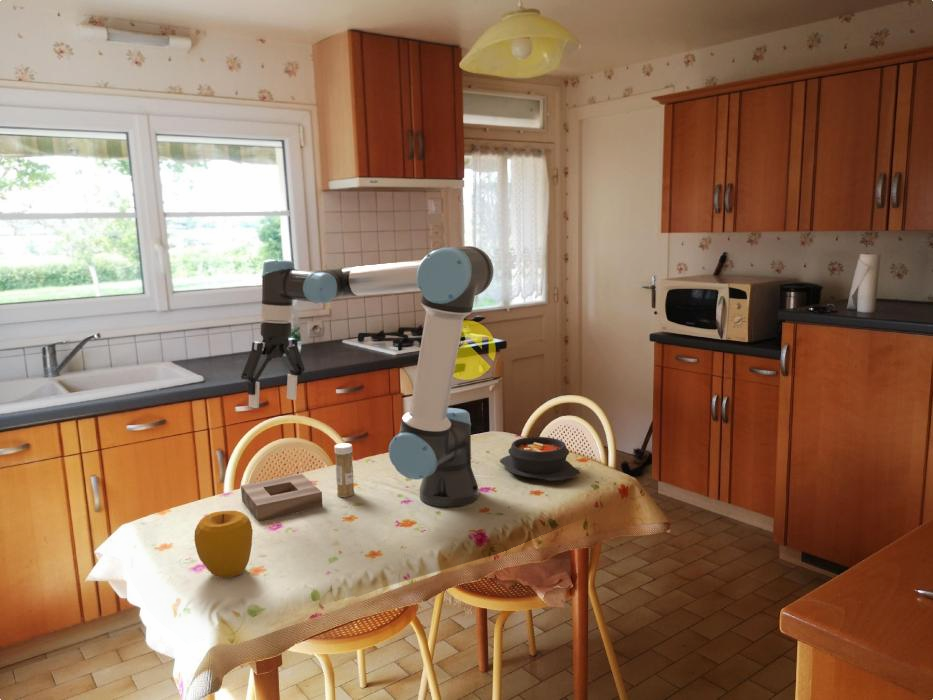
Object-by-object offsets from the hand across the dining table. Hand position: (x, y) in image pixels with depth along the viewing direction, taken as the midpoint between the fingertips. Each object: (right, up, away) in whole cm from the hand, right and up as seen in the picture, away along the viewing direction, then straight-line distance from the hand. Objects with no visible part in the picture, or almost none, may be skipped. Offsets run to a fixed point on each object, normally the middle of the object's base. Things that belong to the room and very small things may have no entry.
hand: (273, 403), depth 180 cm
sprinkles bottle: (+18, -24, +3) cm, 30 cm away
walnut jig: (+3, -25, -3) cm, 26 cm away
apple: (+2, -32, -39) cm, 50 cm away
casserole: (+70, -21, +17) cm, 75 cm away
